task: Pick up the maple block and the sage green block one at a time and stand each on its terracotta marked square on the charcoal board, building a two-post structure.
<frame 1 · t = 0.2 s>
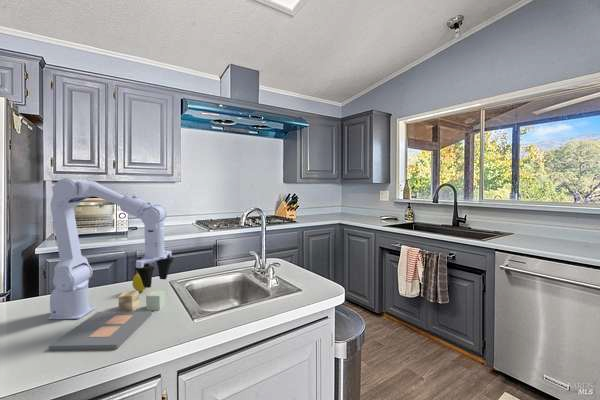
hand: (155, 282, 95), 10 cm above the worktop, tool pointing down, fingers open, 7 cm apart
lemon: (141, 292, 112), on the worktop
maple block: (129, 307, 98), on the worktop
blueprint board: (106, 330, 83), on the worktop
sage block: (156, 307, 99), on the worktop
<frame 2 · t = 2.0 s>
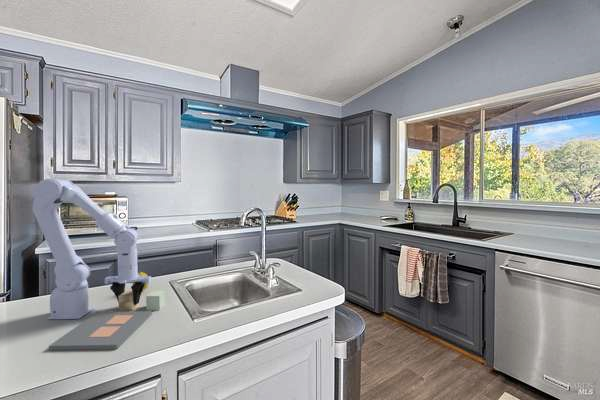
hand: (129, 303, 98), 1 cm above the worktop, tool pointing down, fingers closed on maple block, 4 cm apart
maple block: (129, 307, 98), on the worktop, touching gripper
everything else where it was.
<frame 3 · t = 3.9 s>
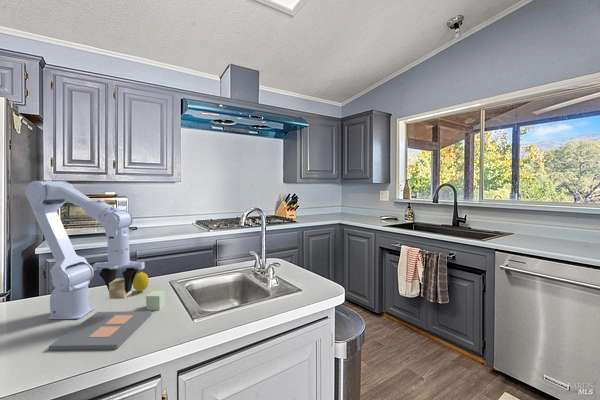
hand: (120, 291, 91), 8 cm above the worktop, tool pointing down, fingers closed on maple block, 4 cm apart
maple block: (120, 295, 91), point 7 cm above the worktop, touching gripper
everything else where it was.
when the fingers open (4 cm above the worktop, at t = 5.8 s): maple block drops 2 cm, resting on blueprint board.
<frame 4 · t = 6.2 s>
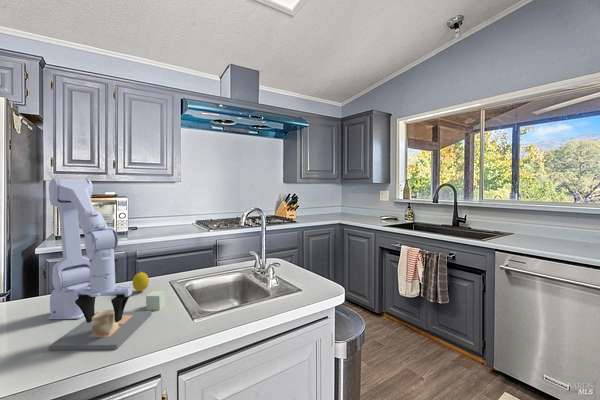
hand: (104, 320, 80), 4 cm above the worktop, tool pointing down, fingers open, 7 cm apart
maple block: (105, 330, 81), point 1 cm above the worktop, touching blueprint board
everything else where it was.
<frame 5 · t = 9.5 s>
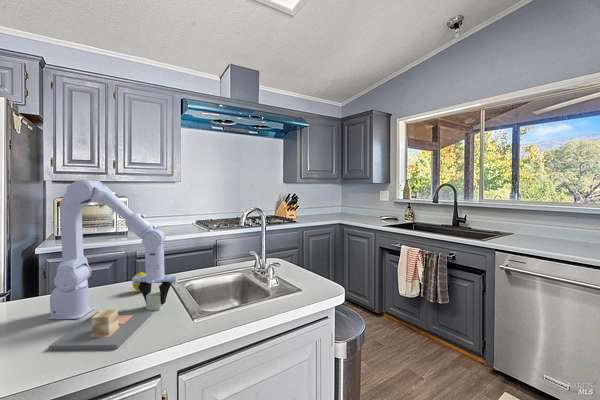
hand: (155, 303, 99), 1 cm above the worktop, tool pointing down, fingers closed on sage block, 4 cm apart
sage block: (156, 307, 99), on the worktop, touching gripper
everything else where it was.
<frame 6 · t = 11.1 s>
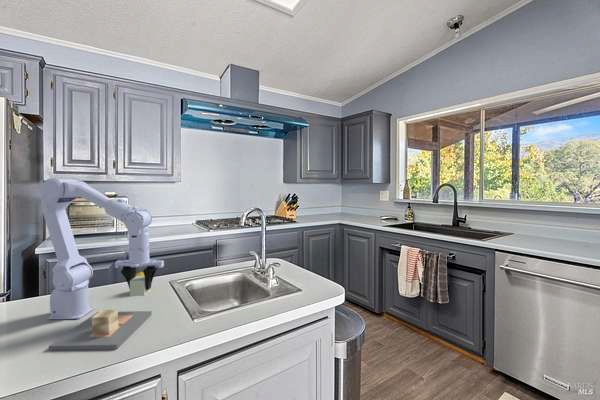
hand: (140, 289, 93), 8 cm above the worktop, tool pointing down, fingers closed on sage block, 4 cm apart
sage block: (140, 293, 93), point 7 cm above the worktop, touching gripper
everything else where it was.
when the fingers open (4 cm above the worktop, at t = 12.7 s): sage block drops 2 cm, resting on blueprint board.
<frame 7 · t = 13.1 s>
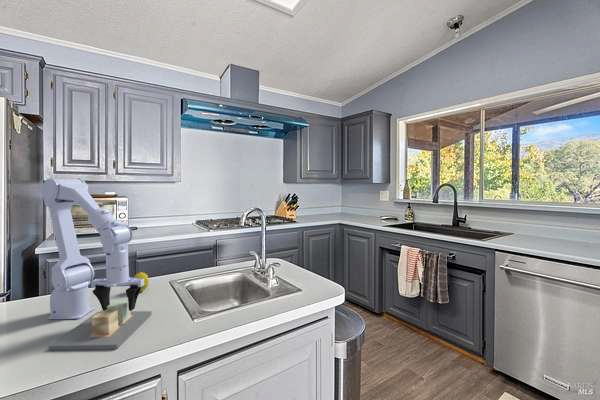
hand: (119, 309, 87), 4 cm above the worktop, tool pointing down, fingers open, 7 cm apart
sage block: (119, 319, 87), point 1 cm above the worktop, touching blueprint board
everything else where it was.
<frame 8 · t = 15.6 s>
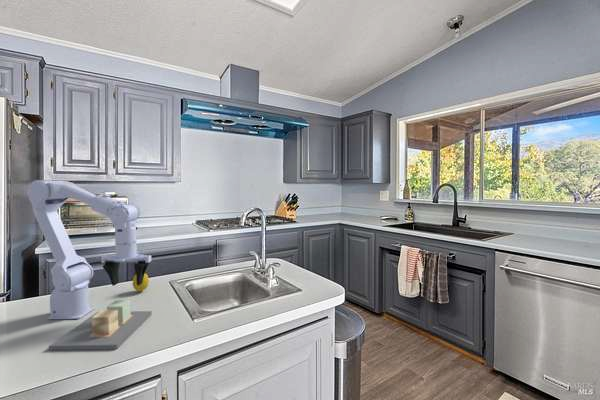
hand: (127, 284, 92), 10 cm above the worktop, tool pointing down, fingers open, 7 cm apart
nothing on the worktop moved.
at the end: maple block 0.4 cm from the target spot, point 1.3 cm above the worktop; sage block 0.1 cm from the target spot, point 1.3 cm above the worktop; sage block tilted 0° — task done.
